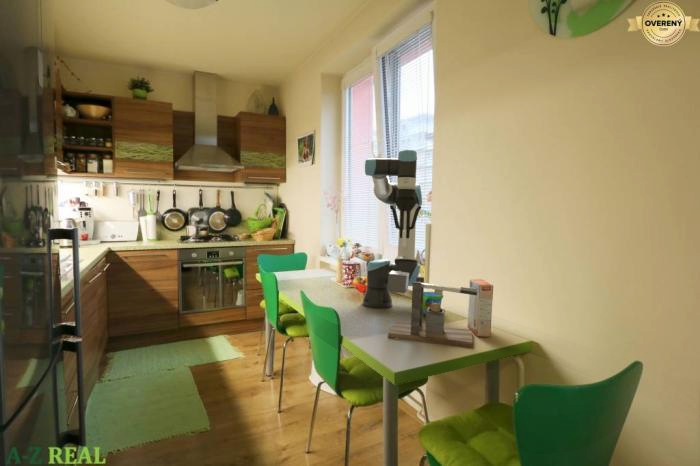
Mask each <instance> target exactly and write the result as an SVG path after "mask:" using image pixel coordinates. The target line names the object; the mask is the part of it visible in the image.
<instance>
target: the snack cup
mask: <svg viewBox="0 0 700 466" xmlns="http://www.w3.org/2000/svg"><path fill="white" fill-rule="evenodd" d="M443 298H444V294H442V296H440V295H434V291H424V294H423V316H426V311H427V308H428V307H429V308H430V307H431V305H432V304H433V303H438V304H439V305H440V306H442V300H443Z"/></svg>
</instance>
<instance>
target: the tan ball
mask: <svg viewBox="0 0 700 466" xmlns="http://www.w3.org/2000/svg"><path fill="white" fill-rule="evenodd" d="M441 306H442V305H441ZM441 306H440V305H439V304H438V303H433V304H432V305H431V307H430V309H431V311H433V312H440V310H441V309H442V307H441Z"/></svg>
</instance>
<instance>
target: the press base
mask: <svg viewBox="0 0 700 466" xmlns="http://www.w3.org/2000/svg"><path fill="white" fill-rule="evenodd" d="M419 281H421V282H419ZM421 283H425V277H424V276H418V277H416V282H413V286H411V287H412V290H411V292H412V294H411V315H410V317H411V318H410V322H404V321H403V322H402V321H396V320H395V321H394V322H393V324H392V325H391V327H390V329H389V331H388V333H387V338H388V337H391V338H390V339H395V338H398V339H397V340H403V339H404V340H405V341H413V342H421V343H428V344H439V345H447V346H455V347H464V348H470V349H471V348H473V332H472V330H470V328H469V329H468V328H460V327H450V326H445V311H446V309H445V308H441V310H440V312H433V311H431V309H430V308H429V307H428V308H427V311H426V315H425V324H423V319H424V318H423V317H424V314H423V294H424V292H425V291H424V290H425V289H424V288H422V287H421Z"/></svg>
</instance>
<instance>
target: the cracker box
mask: <svg viewBox="0 0 700 466" xmlns="http://www.w3.org/2000/svg"><path fill="white" fill-rule="evenodd" d="M469 288H471V289H477V295H470V294H468V308H467V309H468V310H467V313H468V314H467V328H469V329H470V330H472V334H474V335H475V336H476V337H484V338H490V337H491V336H492V333H491V332H492V315H493V299H494V285H493V284H491V283H489V282H487V281H486V280H485V279H481V278H479V279H478V278H470V279H469Z"/></svg>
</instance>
